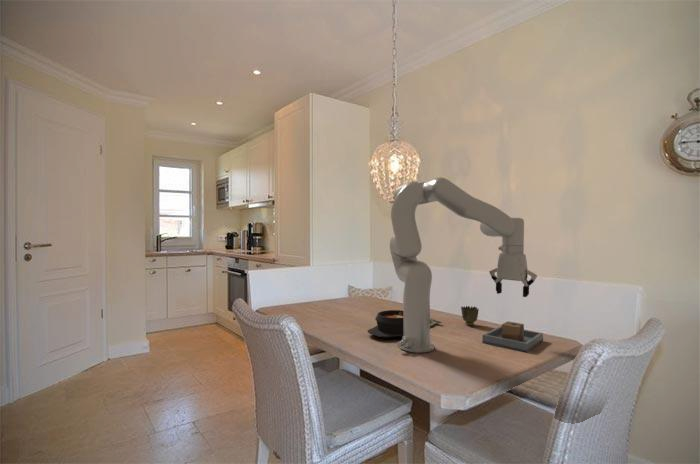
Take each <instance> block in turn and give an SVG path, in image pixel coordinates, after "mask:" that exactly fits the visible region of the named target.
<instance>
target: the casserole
mask: <svg viewBox="0 0 700 464" xmlns="http://www.w3.org/2000/svg"><path fill="white" fill-rule="evenodd" d="M374 320H375V322H376V324H377V325H375V326H373V327H372V328H370V329H368V330H367V333H368V334H369V335H372V336H375V337H379V338H395V339H397V338H398V339H400V338H401V339H402V336H403V310H400V309H394V310H393V309H391V310H382V311H379V312H378V313H377V315H376V316H375V317H374Z"/></svg>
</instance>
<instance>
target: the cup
mask: <svg viewBox="0 0 700 464" xmlns="http://www.w3.org/2000/svg"><path fill="white" fill-rule="evenodd" d="M460 309H461V316H462V319H463V321H464V322H465V326H468V327H472V326H474V325H475V322H476V321H478V316H479V308H478V307H477V306H470V305H468V306H467V305H466V306H465V305H464V306H461V307H460Z"/></svg>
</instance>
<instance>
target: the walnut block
mask: <svg viewBox="0 0 700 464" xmlns="http://www.w3.org/2000/svg"><path fill="white" fill-rule="evenodd" d="M501 326H502V338H505V339H510V340H515V341H520V342H521V341H523V340H524V330H525V324H524V323H518V322H514V321H509V320H508V321H505V322H503V323H502V324H501Z"/></svg>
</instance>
